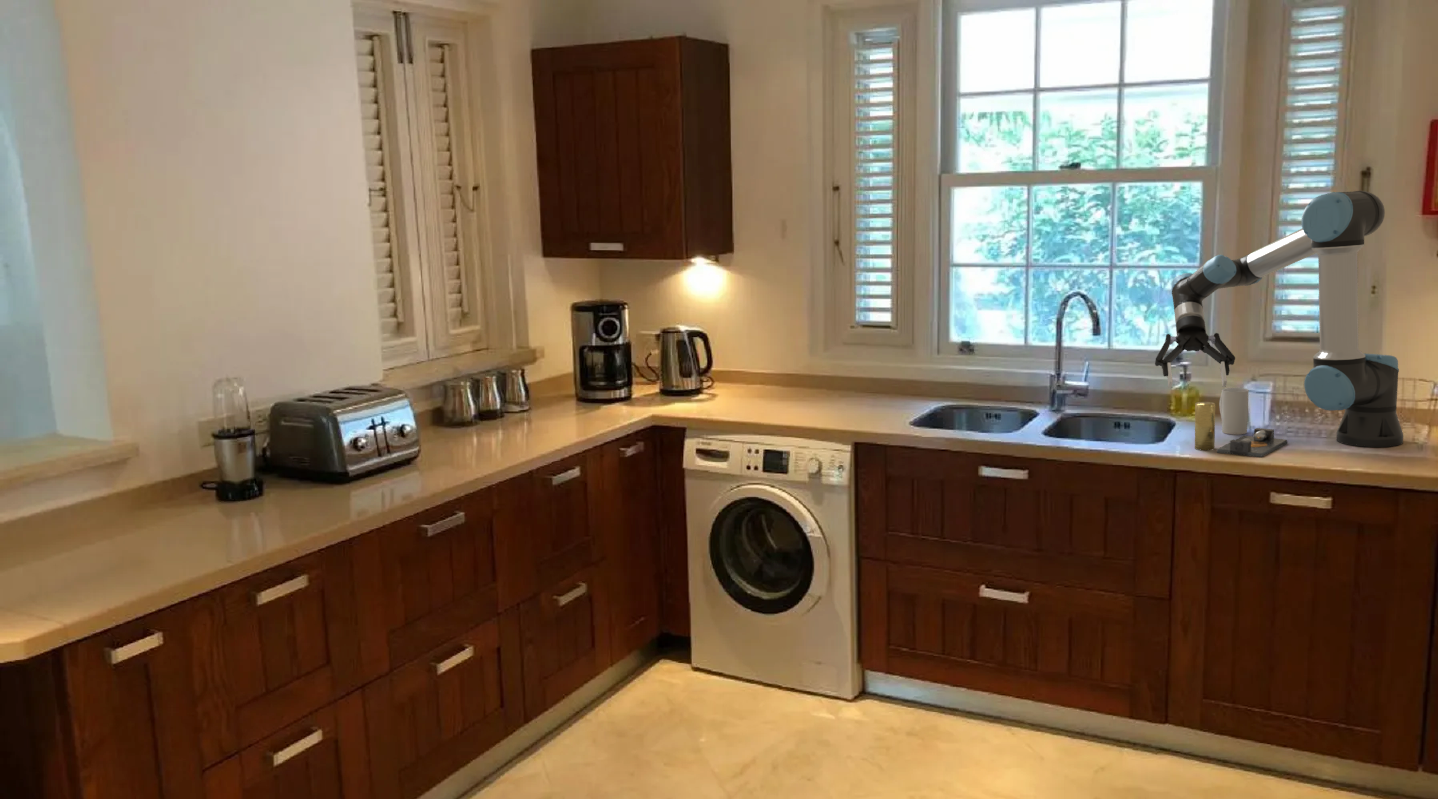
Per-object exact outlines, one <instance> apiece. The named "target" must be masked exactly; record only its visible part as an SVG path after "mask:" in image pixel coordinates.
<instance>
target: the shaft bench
mask: <svg viewBox="0 0 1438 799" xmlns="http://www.w3.org/2000/svg"><path fill="white" fill-rule="evenodd" d="M1287 444H1288V439H1286V438H1285V439H1284V438H1275V429H1270V428H1261V427H1256V428H1254V429H1253V436H1252V435H1242V436H1240V437H1238V438H1236V439H1231V440H1230V441H1229V442H1228V443H1226V444H1224V445H1222V446H1220V447H1218V448H1217V449H1216V453H1217V454H1224V453H1225V454H1224V455H1226V454H1228V455H1234V456H1244V457H1245V456H1246V457H1254V458H1255V457H1256V458H1263V457H1265V456H1266V455H1269V454H1270V453H1272V452H1274V451H1275V450H1277V449H1280V448H1282V447H1283V446H1285V445H1287Z"/></svg>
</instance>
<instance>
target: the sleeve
mask: <svg viewBox="0 0 1438 799" xmlns="http://www.w3.org/2000/svg"><path fill="white" fill-rule="evenodd" d="M1194 406H1195V407H1194V449H1195V450H1197V449H1201V450H1200V451H1213V450H1212V449H1214V450H1215V445H1216V444H1215V437H1216V436H1215V434H1216V431H1215V430H1216V403H1215V402H1212V401H1199V402H1195V403H1194Z"/></svg>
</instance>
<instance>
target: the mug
mask: <svg viewBox="0 0 1438 799" xmlns="http://www.w3.org/2000/svg"><path fill="white" fill-rule="evenodd" d="M1249 391H1250V390H1249V388H1242V387H1241V388H1240V387H1226V388H1225V387H1224V388H1223V389H1221V394H1220V396H1219V397H1220V398H1219V401H1218V402H1219V413H1220V418H1221V425H1222V426H1221V430H1222V434H1226V435H1234V436H1235V435H1245V434H1247V432H1248V416H1249V411H1248V410H1249Z"/></svg>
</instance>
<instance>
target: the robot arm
mask: <svg viewBox="0 0 1438 799" xmlns="http://www.w3.org/2000/svg"><path fill="white" fill-rule="evenodd" d="M1385 214H1386V211H1385V206H1384V202H1382V200H1381V199H1380V198H1379V197H1378V196H1377V195H1376V194H1374V193H1372V192H1369V191H1366V190H1354V191H1353V190H1351V191H1336V192H1335V191H1333V192H1329V193H1324V194H1321V195H1318V196H1316V197H1315V198H1313V199H1312V200H1311V201H1310V202H1309V203H1308V204H1307V205H1306V206H1305V208H1304V210H1303V212H1302V216H1301V221H1300V222H1301V228H1300V229H1298V230H1296V231H1294V232H1291V233H1290V234H1288V235H1285V236H1283V237H1281V238H1279V239H1277V240H1275V241H1273V242H1271V243H1269V244H1267V245H1265V246H1263V247H1262V246H1261V247H1260V248H1258V249H1256V250H1254V251H1253V252H1251V253H1248V254H1246V255H1244V256H1241V257H1240V258H1237V259H1231V258H1230V257H1228V256H1225V255H1223V254H1218V255H1215V256H1213V257H1212V258H1211V259H1208V260H1207V261H1205V263H1204V264H1203V265H1202V266H1201V267H1199V268H1198V269H1197V270H1196V271H1194V272H1193V273H1192V272H1185V273H1184V272H1183V273H1182V274H1180V275H1179V274H1178V275H1177V276H1175V277H1174V278H1173V279H1172V281H1171V297H1172V303H1173V311H1174V319H1175V320H1174V322H1175V330H1176V336H1173V335H1172V336H1171V334H1170V333H1167V334H1165V340H1164V343H1163V345H1162V346H1161V349H1160V351H1159V353H1158V354H1157V356H1156V357H1155V361H1154V366H1156V367H1159V366H1160V367H1161V369H1162V375H1163V377H1167V385H1168V386H1167V387H1168V389H1171V388H1172V386H1173V382H1174V381H1173V375H1172V374H1173V373H1172V362H1174V360H1175V359H1176V358H1177V357H1178V356H1179V355H1180V354H1182V353H1183V352H1184V351H1186V352H1193V351H1194V352H1199V351H1201V352H1202V353H1204V354H1207V355H1208V356H1209V357H1211V358H1212V359H1213V360H1214V361H1215V362H1217V363H1218V364H1219V371H1220V379H1221V385H1222V388H1225V387H1226V386H1227V383H1228V379H1227V376H1229V374H1230V365H1231V366H1233V365H1234V364H1235V361H1236V356H1235V355H1234V354H1233V353H1232V351H1231V350H1230V349H1229V348H1228V347H1227V345H1226V344H1225V343H1224V342H1223V341H1222V339H1221V337H1220V334H1219V333H1218V332H1215V333H1214V334H1212V335H1208V334H1207V329H1206V322H1205V314H1204V308H1203V307H1204V306H1203V300H1205V299H1207V298H1208V297H1209V296H1210V295H1212V294H1213V293H1214V292H1215V291H1217V290H1220V289H1227V288H1234V287H1241V286H1242V287H1244V286H1246V287H1247V286H1251V285H1253V284H1257V283H1259V282H1261V280H1262V279H1263V278H1264V277H1267V276H1268V275H1270V274H1273V273H1275V272H1277V271H1279V270H1282V269H1283V268H1286V267H1288V266H1290V265H1293V264H1295V263H1297V262H1300V261H1302V260H1304V259H1307V258H1308V257H1311V256H1313V255H1315V254H1316V255H1317V256H1318V257H1317V258H1318V304H1319V305H1318V308H1319V309H1318V310H1319V312H1318V313H1319V314H1318V317H1319V351H1318V352H1316V353H1315V354H1314V355H1313V357H1312V361H1313V363H1312V364H1313V366H1312V367H1313V368H1311V369H1310V371H1309V372H1308V373H1307V374H1306V375H1305V378H1304V382H1303V383H1304V384H1303V385H1304V386H1303V387H1304V390H1305V394H1306V396H1307V398H1308V400H1309V401H1310V402H1312V403H1313V404H1314V405H1315V407H1317V408H1319V409H1322V410H1325V411H1331V412H1332V411H1343V410H1344V413H1343V416H1342V418H1341V421H1340V423H1339V424H1338V425H1339V426H1338V428H1337V430H1336V441H1337V442H1339V443H1341V444H1344V445H1349V446H1357V447H1364V448H1365V447H1367V448H1382V447H1383V448H1387V447H1396V446H1401V445H1402V444H1404V432H1403V429H1402V426H1401V423H1400V420H1399V418H1398V414H1397V402H1398V385H1399V383H1398V382H1399V372H1400V369H1399V360H1398V358H1397V357H1396V356H1394V355H1392V354H1391V355H1389V354H1379V353H1366V352H1365V353H1364V352H1362V351H1361V350H1360V348H1359V287H1358V286H1359V285H1358V282H1359V281H1358V277H1359V276H1358V273H1359V272H1358V268H1359V267H1358V253H1359V251H1360V250H1362V249H1363V248H1364V247H1365V237H1367V236H1370V235H1373V233H1375V232H1376V231H1377V230H1378V229H1379V228H1380V227H1381V225H1382V224H1383V223H1384V219H1385ZM1174 342H1176V344H1177V346H1175V347H1174V348H1173V349H1172V350H1171V352H1170V353H1169V354H1167V355H1166V353H1167V352H1168V350H1169V348H1170V346H1171V345H1173V344H1174ZM1210 343H1211V344H1212V345H1211V344H1210ZM1213 345H1214V347H1213ZM1165 355H1166V357H1165ZM1226 388H1227V387H1226Z"/></svg>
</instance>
